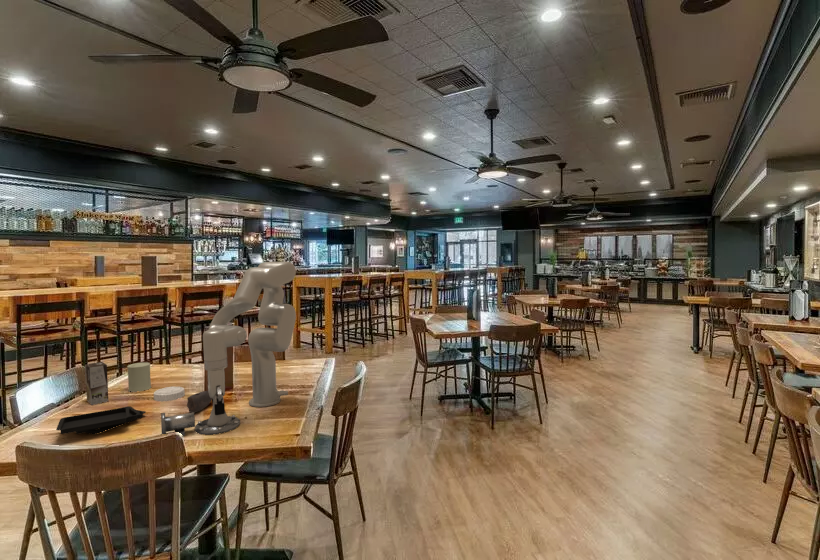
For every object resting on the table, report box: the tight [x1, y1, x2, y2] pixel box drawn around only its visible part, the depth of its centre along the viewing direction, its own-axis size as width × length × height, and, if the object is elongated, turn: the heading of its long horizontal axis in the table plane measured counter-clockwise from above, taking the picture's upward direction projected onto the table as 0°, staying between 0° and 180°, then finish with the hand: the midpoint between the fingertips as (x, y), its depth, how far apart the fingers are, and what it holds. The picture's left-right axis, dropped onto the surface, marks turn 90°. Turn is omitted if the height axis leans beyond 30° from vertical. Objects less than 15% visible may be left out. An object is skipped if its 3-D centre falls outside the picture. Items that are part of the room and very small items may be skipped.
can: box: [126, 362, 152, 393], centre depth 203 cm, size 9×9×12 cm
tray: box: [56, 405, 147, 435], centre depth 157 cm, size 30×23×5 cm
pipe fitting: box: [160, 412, 241, 437], centre depth 154 cm, size 25×15×8 cm, turn 120°
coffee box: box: [84, 361, 109, 406], centre depth 186 cm, size 9×6×16 cm
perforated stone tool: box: [186, 390, 212, 414], centre depth 175 cm, size 15×5×7 cm, turn 171°
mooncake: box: [153, 385, 185, 402], centre depth 191 cm, size 12×12×4 cm
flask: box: [207, 397, 229, 427], centre depth 156 cm, size 7×7×10 cm
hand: (218, 410), depth 157 cm, fingers open, 9 cm apart
